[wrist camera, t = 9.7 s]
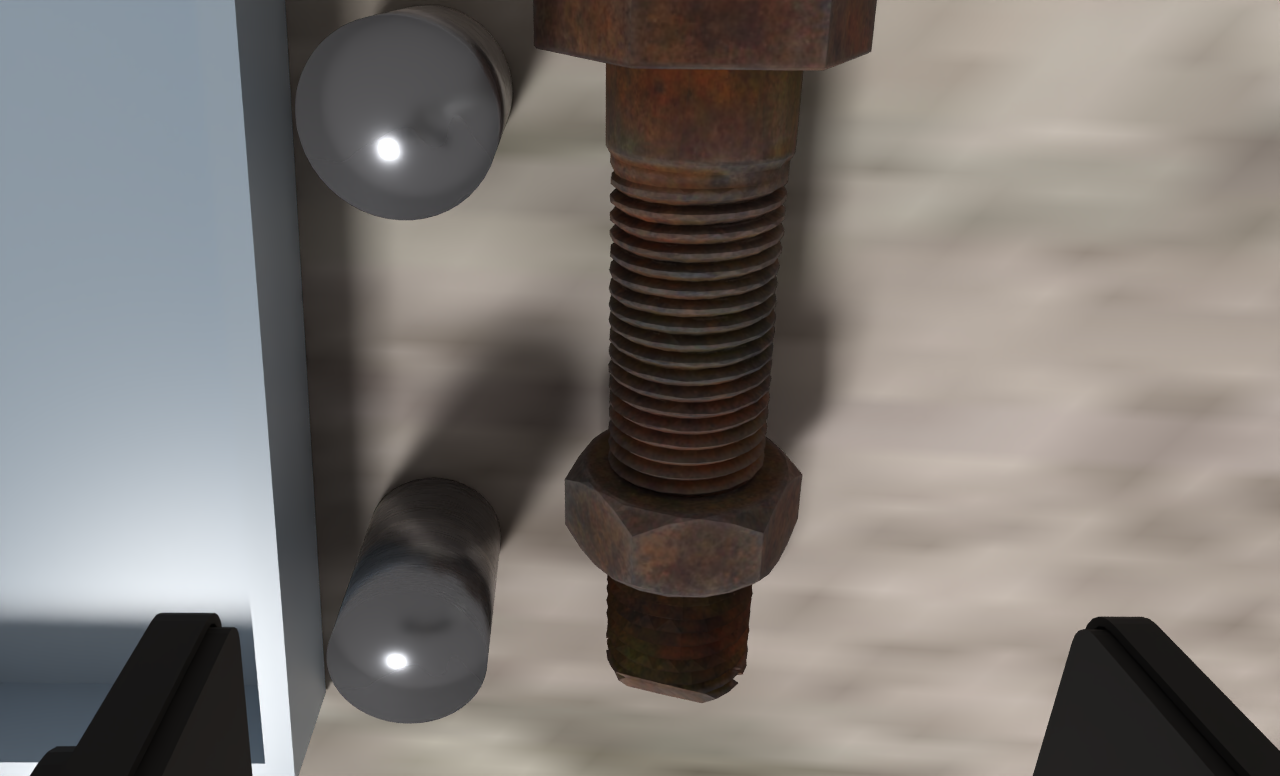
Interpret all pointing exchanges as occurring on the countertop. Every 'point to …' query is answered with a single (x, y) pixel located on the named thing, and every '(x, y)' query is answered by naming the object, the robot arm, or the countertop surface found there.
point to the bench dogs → (409, 190)
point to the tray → (151, 362)
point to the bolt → (693, 316)
